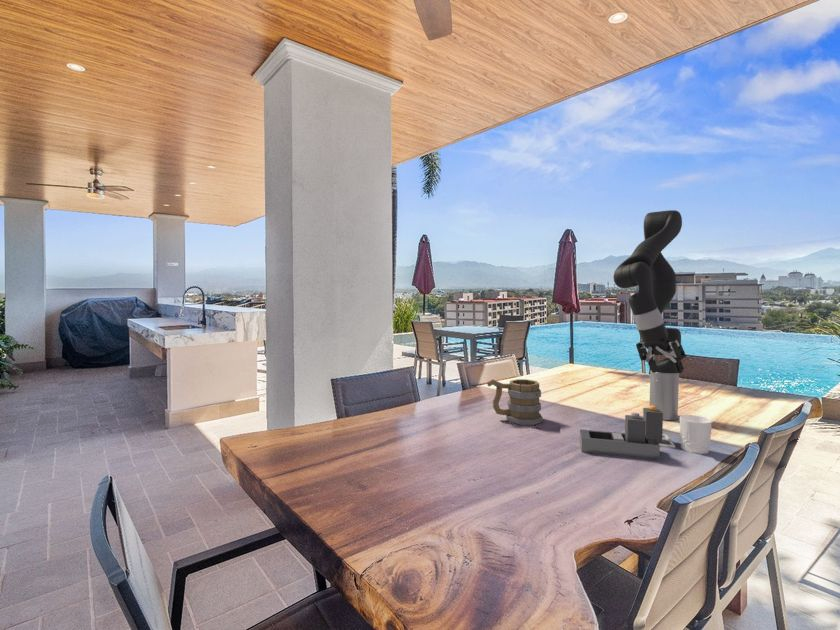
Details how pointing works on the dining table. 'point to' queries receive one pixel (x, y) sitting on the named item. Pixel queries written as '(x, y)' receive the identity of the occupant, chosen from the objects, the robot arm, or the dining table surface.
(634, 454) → the strip
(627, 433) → the twin plug
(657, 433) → the plug
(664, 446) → the tray
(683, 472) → the dining table surface
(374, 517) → the dining table surface
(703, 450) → the white cup
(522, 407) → the tankard
